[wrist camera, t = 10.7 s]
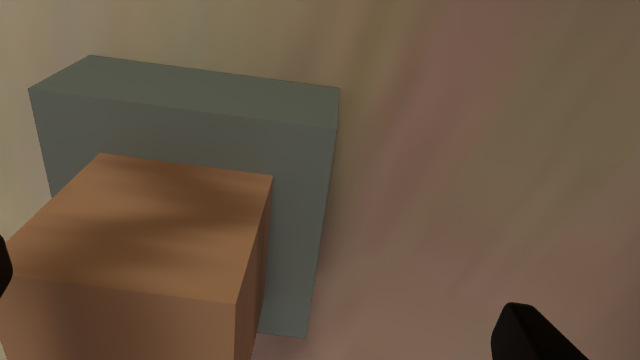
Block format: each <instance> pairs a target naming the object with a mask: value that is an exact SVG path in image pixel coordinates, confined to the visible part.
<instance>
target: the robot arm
mask: <svg viewBox="0 0 640 360" xmlns="http://www.w3.org/2000/svg"><path fill="white" fill-rule="evenodd" d="M12 276H13V265H12V262H11V259H10V256H9V253H8V250H7V247H6V244H5V241H4V239H3V237H2V236H1V235H0V298H1V297H2V295H3V293H4V292H5V290H6V288H7V287H8V285H9V283H10V281H11V279H12ZM491 351H492V359H493V360H589V359H588V358H587V357H586V356H584V355H583V354H582V353H581V352H580V351H579V350H578V349H577V348H576V347H575V346H574V345H573V344H572V343H571V342H570V341H569V340H568V339H567V338H566V337H565V336H564V335H563V334H562V333H561V332H560V331H558V330H557V329H556V328H555V327H554V326H553V325H552V324H551V323H550V322H549V321H548V320H547V319H546V318H545V317H544V316H543V315H542V314H541V313H540V312H539V311H538V310H537V309H536V308H534V307H533V306H531V305H528V304H521V303H514V302H510V303H507V304H506V305H505V306H504V308H503V310H502V312H501V314H500V317H499V319H498V321H497V323H496V326H495V328H494V330H493V332H492V336H491Z"/></svg>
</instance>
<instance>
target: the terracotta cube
mask: <svg viewBox="0 0 640 360" xmlns="http://www.w3.org/2000/svg"><path fill="white" fill-rule="evenodd" d="M272 186H273V176H272V175H265V174H257V173H250V172H242V171H234V170H227V169H219V168H212V167H204V166H197V165H189V164H181V163H174V162H166V161H159V160H151V159H144V158H136V157H128V156H121V155H113V154H106V153H99V154H98V155H97V156H96V157H95V158H94V159H93V160H92V161H91V162H90V163H89V164H88V165H87V166H85V167H84V168H83V169H82V170H81V171H80V172H79V173H78V174H77V175H76V176H75V177H74V178H73V179H72V180H71V181H70V182H69V183H68V184H67V185H66V186H65V187H63V188H62V189H61V190H60V191H59V192H58V193H57V194H56V195H55V196H54V197H53V198H52V199H51V200H50V201H49V202H48V203H47V204H46V205H45V206H44V207H43V208H41V209H40V210H39V211H38V212H37V213H36V214H35V215H34V216H33V217H32V218H31V219H30V220H29V221H28V222H27V223H26V224H25V225H24V226H23V227H22V228H20V229H19V230H18V231H17V232H16V233H15V234H14V235H13V236H12V237H11V238H10V239H9V240H8V241H7V242H6V243H5V244H6V247H7V250H8V253H9V256H10V259H11V262H12V265H13V276H12V279H11V281H10V283H9V285H8V287H7V288H6V290H5V292H4V293H3V295H2V297H1V298H0V341H1V343H2V346H3V349H4V352H5V355H6V357H7V360H250V359H251V355H252V350H253V346H254V341H255V337H256V333H257V328H258V324H259V319H260V315H261V310H262V306H263V301H264V289H265V276H266V263H267V250H268V238H269V225H270V212H271V199H272Z"/></svg>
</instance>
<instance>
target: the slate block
mask: <svg viewBox="0 0 640 360" xmlns="http://www.w3.org/2000/svg"><path fill="white" fill-rule="evenodd" d="M339 90H340V88H333V87H325V86H318V85H310V84H303V83H295V82H288V81H280V80H273V79H265V78H258V77H250V76H243V75H235V74H228V73H220V72H213V71H205V70H198V69H190V68H183V67H175V66H168V65H160V64H153V63H145V62H138V61H130V60H123V59H115V58H107V57H100V56H92V55H89V56H87V57H85V58H83V59H81V60H80V61H78V62H76V63H74V64H72V65H70V66H68V67H67V68H65V69H63V70H61V71H59V72H57V73H56V74H54V75H52V76H50V77H48V78H46V79H44V80H43V81H41V82H39V83H37V84H35V85H33V86H31V87H30V88H28V92H29V96H30V101H31V105H32V110H33V114H34V119H35V124H36V128H37V133H38V137H39V142H40V146H41V151H42V155H43V160H44V165H45V169H46V174H47V178H48V183H49V187H50V192H51V196H52V198H53V197H54V196H55V195H56V194H57V193H58V192H59V191H60V190H61V189H62V188H63V187H65V186H66V185H67V184H68V183H69V182H70V181H71V180H72V179H73V178H74V177H75V176H76V175H77V174H78V173H79V172H80V171H81V170H82V169H83V168H84V167H85V166H87V165H88V164H89V163H90V162H91V161H92V160H93V159H94V158H95V157H96V156H97V155H98V154H99V153H106V154H113V155H121V156H128V157H136V158H144V159H151V160H159V161H166V162H174V163H181V164H189V165H197V166H204V167H212V168H219V169H227V170H234V171H242V172H250V173H257V174H265V175H272V176H273V186H272V199H271V212H270V225H269V238H268V250H267V263H266V276H265V289H264V301H263V306H262V310H261V315H260V319H259V324H258V328H257V333H264V334H272V335H280V336H288V337H296V338H304V339H306V334H307V327H308V321H309V314H310V307H311V301H312V294H313V287H314V281H315V274H316V267H317V261H318V254H319V247H320V241H321V234H322V227H323V221H324V214H325V207H326V201H327V194H328V187H329V181H330V174H331V167H332V161H333V154H334V147H335V141H336V134H337V124H338V107H339Z"/></svg>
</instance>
